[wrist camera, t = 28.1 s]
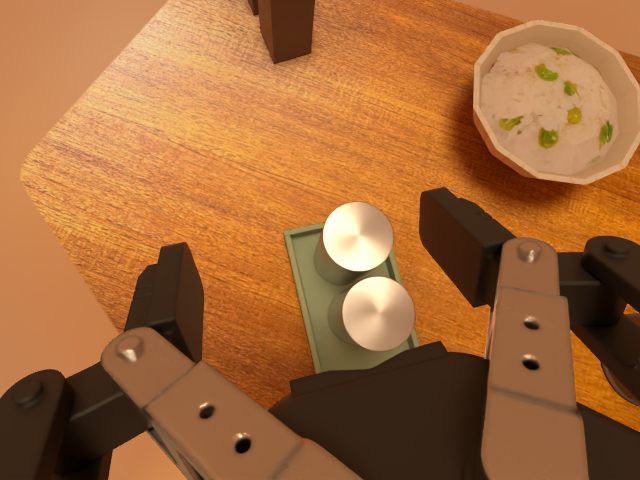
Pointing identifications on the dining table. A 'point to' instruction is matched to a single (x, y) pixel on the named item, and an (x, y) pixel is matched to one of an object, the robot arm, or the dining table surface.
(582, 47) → the bowl
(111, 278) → the dining table surface
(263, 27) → the grey boxes
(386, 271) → the tray
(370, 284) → the silver cans
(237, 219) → the dining table surface
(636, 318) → the canister
